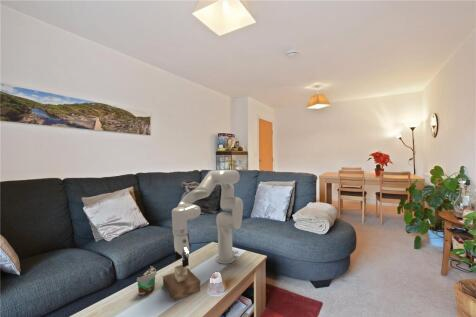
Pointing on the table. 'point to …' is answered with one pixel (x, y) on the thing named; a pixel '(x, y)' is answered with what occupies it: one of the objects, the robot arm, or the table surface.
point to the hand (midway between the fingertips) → (181, 262)
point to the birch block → (180, 273)
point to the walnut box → (181, 285)
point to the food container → (147, 282)
